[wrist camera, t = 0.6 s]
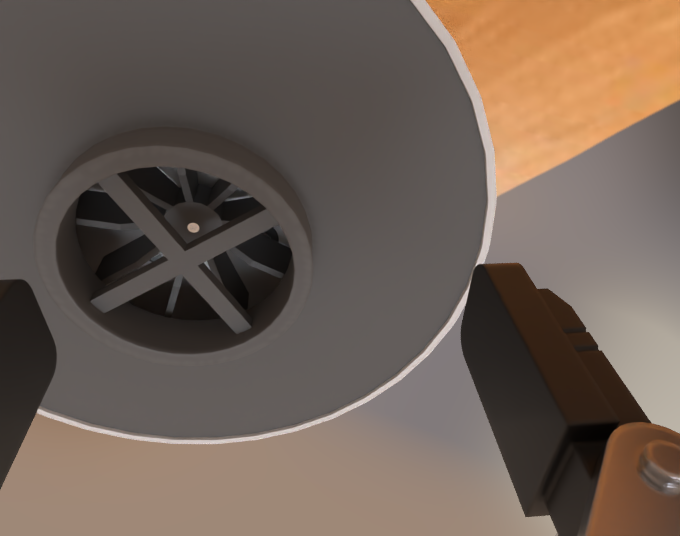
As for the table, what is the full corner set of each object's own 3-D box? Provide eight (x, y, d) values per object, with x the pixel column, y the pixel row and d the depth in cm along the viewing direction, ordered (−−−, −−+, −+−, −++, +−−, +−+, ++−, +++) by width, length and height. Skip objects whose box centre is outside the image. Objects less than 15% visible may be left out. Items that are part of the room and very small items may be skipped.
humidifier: (-16, -9, 31) (-477, 137, 12) (283, -224, 27) (283, -511, 8) (201, 246, 43) (138, 520, 24) (432, 126, 39) (575, 346, 20)
